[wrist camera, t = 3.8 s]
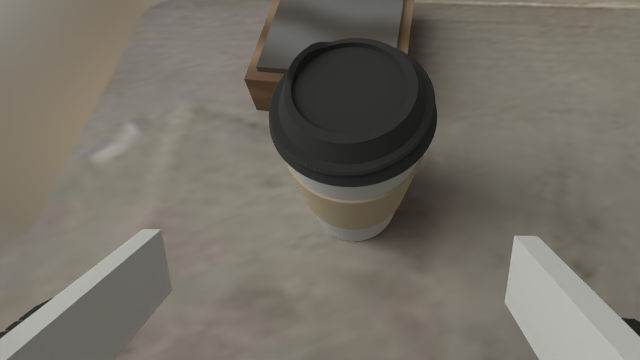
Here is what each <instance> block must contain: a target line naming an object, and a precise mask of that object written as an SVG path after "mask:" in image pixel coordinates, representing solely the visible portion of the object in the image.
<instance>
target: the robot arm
mask: <svg viewBox="0 0 640 360" xmlns="http://www.w3.org/2000/svg"><path fill="white" fill-rule="evenodd" d="M171 291H172V285H171V279H170V274H169V269H168V263H167V258H166V252H165V247H164V241H163V236H162V231H161V229H142V230H141V231H140V232H139V233H137V234H136V235H135V236H133V237H132V238H131V239H129V240H128V241H127V242H126V243H124V244H123V245H122V246H120V247H119V248H118V249H116V250H115V251H114V252H112V253H111V254H110V255H109V256H107V257H106V258H105V259H103V260H102V261H101V262H99V263H98V264H97V265H96V266H94V267H93V268H92V269H90V270H89V271H88V272H86V273H85V274H84V275H83V276H81V277H80V278H79V279H77V280H76V281H75V282H73V283H72V284H71V285H70V286H68V287H67V288H66V289H64V290H63V291H62V292H60V293H59V294H58V295H57V296H55V297H53V298H51V299H49V300H47V301H45V302H44V303H42V304H40V305H38V306H36V307H34V308H33V309H32V310H30V311H29V312H28V313H26V314H25V315H24V316H22V317H21V318H20V319H19V321H16V322H14V323H13V324H12V325H10V326H9V327H8V328H6V330H5V332H1V333H0V360H115V359H116V358H117V356H118V355H119V354H120V353H121V352H122V350H123V349H124V348H125V347H126V345H127V344H128V343H129V342H130V341H131V339H132V338H133V337H134V336H135V335H136V333H137V332H138V331H139V330H140V329H141V327H142V326H143V325H144V324H145V322H146V321H147V320H148V319H149V318H150V316H151V315H152V314H153V313H154V312H155V310H156V309H157V308H158V307H159V306H160V304H161V303H162V302H163V301H164V299H165V298H166V297H167V296H168V295H169V293H170V292H171ZM505 304H506V305H507V307H508V309H509V310H510V312H511V314H512V315H513V317H514V319H515V320H516V322H517V324H518V325H519V327H520V329H521V330H522V332H523V334H524V335H525V337H526V339H527V340H528V342H529V344H530V345H531V347H532V349H533V350H534V352H535V354H536V355H537V357H538V359H539V360H640V322H639V321H637V320H635V319H623V318H620V317H619V316H618V315H617V314H616V313H615V312H614V311H613V310H612V309H611V308H610V307H609V306H608V305H607V304H606V303H605V302H604V301H603V300H602V299H601V298H600V297H599V296H598V295H597V294H596V293H595V292H594V291H593V290H592V289H591V288H590V287H589V286H588V285H587V284H586V283H585V282H584V281H583V280H582V279H581V278H580V277H579V276H578V275H577V274H576V273H574V272H573V271H572V270H571V269H570V268H569V267H568V266H567V265H566V264H565V263H564V262H563V261H562V260H561V259H560V258H559V257H558V256H557V255H556V254H555V253H554V252H553V251H552V250H551V249H550V248H549V247H548V246H547V245H546V244H545V243H544V242H543V241H542V240H541V239H540V238H539V237H538V236H514V242H513V249H512V255H511V262H510V269H509V276H508V283H507V290H506V296H505Z"/></svg>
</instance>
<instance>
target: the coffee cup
mask: <svg viewBox="0 0 640 360" xmlns="http://www.w3.org/2000/svg"><path fill="white" fill-rule="evenodd" d="M436 124H437V110H436V104H435V94H434V89H433V86H432V83H431V81H430V78H429V77H428V75H427V73H426V72H425V70H424V69H423V68H422V66H421V65H420V64H419V63H418V62H417V61H416V60H414V59H413V58H412V57H411V56H409V55H408V54H406V53H405V52H403V51H401V50H399V49H397V48H395V47H393V46H391V45H389V44H386V43H384V42H381V41H377V40H373V39H367V38H348V39H341V40H336V41H333V42H317V43H314V44H311V45H310V46H308V47H307V48H305V49H304V50H303V51H302V52H301V53H299V54H298V55H297V57H296V58H295V59H294V60H293V61H292V63H291V65H290V67H289V70H288V71H287V72H286V73H285V74H284V75H283V76H282V78H281V79H280V81H279V82H278V84H277V86H276V88H275V90H274V92H273V94H272V97H271V101H270V106H269V126H270V133H271V137H272V140H273V143H274V145H275V147H276V149H277V151H278V152H279V154H280V155H281V157H282V158H283V159H284V160H285V161H286V164H287V166H288V168H289V170H290V172H291V174H292V176H293V178H294V179H295V181H296V183H297V185H298V187H299V189H300V190H301V192H302V194H303V196H304V198H305V200H306V201H307V203H308V205H309V207H310V208H311V210H312V211H313V212H314V213H315V215H316V217H317V218H318V220H319V222H320V224H321V225H322V227H323V228H324V229H325V230H326V231H327V232H328V233H329V234H331V235H332V236H334V237H336V238H338V239H341V240H345V241H353V242H355V241H363V240H367V239H370V238H372V237H374V236H376V235H378V234H379V233H381V232H382V231H383V230H384V229H385V228H386V227H387V226H388V224H389V223H390V221H391V219H392V217H393V215H394V213H395V210H396V209H397V208H398V206H399V205H400V203H401V201H402V199H403V197H404V195H405V193H406V191H407V189H408V187H409V185H410V183H411V181H412V179H413V177H414V175H415V173H416V171H417V169H418V167H419V165H420V163H421V161H422V158H423V155H424V153H425V152H426V150H427V149H428V147H429V145H430V143H431V141H432V139H433V137H434V133H435V130H436Z"/></svg>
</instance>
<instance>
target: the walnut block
mask: <svg viewBox="0 0 640 360" xmlns="http://www.w3.org/2000/svg"><path fill="white" fill-rule="evenodd" d="M413 6H414V0H274V1H273V3H272V6H271V9H270V11H269V14H268V17H267V19H266V22H265V25H264V27H263V30H262V33H261V36H260V38H259V41H258V44H257V46H256V49H255V52H254V54H253V57H252V60H251V62H250V65H249V68H248V71H247V73H246V76H245V79H244V80H245V82H246V84H247V87H248V89H249V92H250V94H251V97H252V99H253V101H254V104H255V106H256V109H257V110H266V111H269V106H270V101H271V97H272V94H273V92H274V90H275V88H276V86H277V84H278V82H279V81H280V79H281V78H282V76H283V75H284V74H285V73H286V72H287V71H288V70H289V67H290V65H291V63H292V61H293V60H294V59H295V58H296V57H297V55H298V54H299V53H301V52H302V51H303V50H304V49H305V48H307V47H308V46H310V45H311V44H314V43H317V42H333V41H336V40H341V39H348V38H367V39H373V40H377V41H381V42H384V43H386V44H389V45H391V46H393V47H395V48H397V49H399V50H401V51H403V52H405V53H406V54H408V46H409V38H410V30H411V22H412V14H413Z"/></svg>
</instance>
